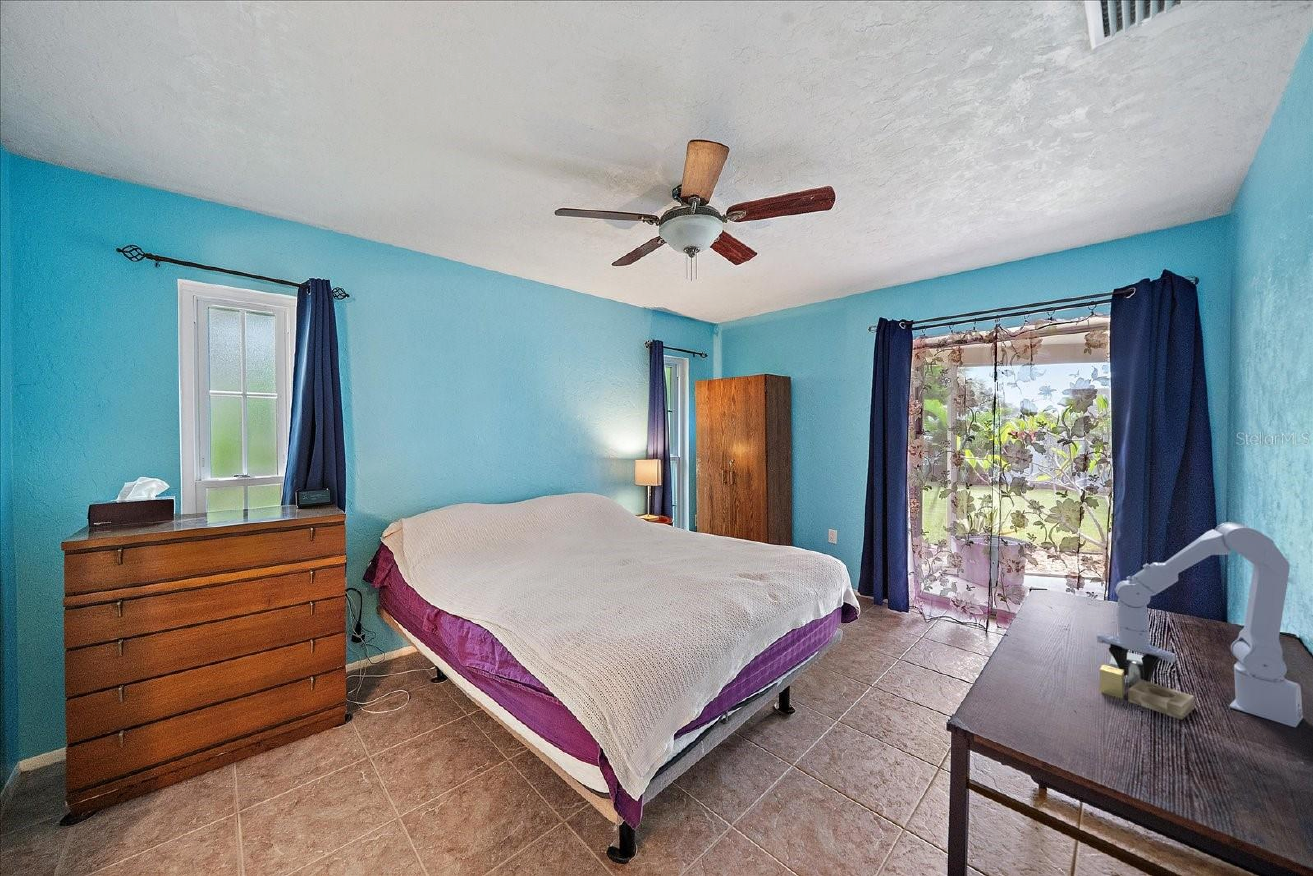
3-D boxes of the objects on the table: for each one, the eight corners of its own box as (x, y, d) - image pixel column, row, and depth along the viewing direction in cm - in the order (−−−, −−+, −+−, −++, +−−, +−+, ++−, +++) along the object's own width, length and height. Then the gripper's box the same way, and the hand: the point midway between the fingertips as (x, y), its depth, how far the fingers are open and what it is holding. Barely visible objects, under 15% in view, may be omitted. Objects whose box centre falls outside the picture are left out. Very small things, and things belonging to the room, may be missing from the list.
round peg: (1146, 685, 122) (1145, 663, 122) (1142, 689, 120) (1141, 666, 120) (1130, 680, 124) (1129, 658, 124) (1125, 683, 123) (1124, 661, 123)
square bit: (1125, 693, 118) (1124, 670, 119) (1122, 699, 116) (1121, 675, 116) (1103, 687, 122) (1102, 664, 122) (1100, 692, 119) (1099, 669, 119)
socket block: (1194, 708, 111) (1193, 695, 111) (1181, 720, 107) (1181, 707, 107) (1142, 691, 119) (1141, 679, 119) (1128, 701, 115) (1127, 689, 115)
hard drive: (1112, 649, 140) (1109, 662, 132) (1152, 657, 134) (1151, 672, 126) (1113, 654, 140) (1109, 668, 132) (1152, 663, 134) (1151, 678, 126)
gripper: (1178, 633, 118) (1181, 686, 118) (1103, 615, 131) (1105, 663, 130) (1168, 639, 115) (1171, 694, 114) (1092, 621, 127) (1095, 670, 127)
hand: (1135, 678), depth 122 cm, fingers open, 4 cm apart
